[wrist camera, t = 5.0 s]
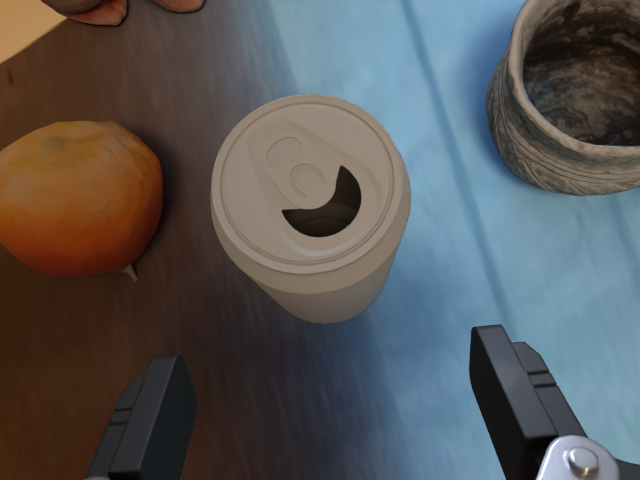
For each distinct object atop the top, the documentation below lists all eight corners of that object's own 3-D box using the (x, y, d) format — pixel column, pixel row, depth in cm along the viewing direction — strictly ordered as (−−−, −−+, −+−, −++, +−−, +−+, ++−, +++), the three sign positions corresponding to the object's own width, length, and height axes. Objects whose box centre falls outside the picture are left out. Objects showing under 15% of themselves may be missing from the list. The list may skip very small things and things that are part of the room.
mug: (535, 26, 29) (630, -149, 19) (738, 149, 26) (966, 19, 16) (435, 146, 27) (482, 22, 18) (639, 289, 25) (827, 237, 15)
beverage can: (315, 351, 25) (285, 335, 13) (241, 254, 26) (156, 164, 15) (412, 273, 26) (464, 193, 14) (335, 183, 27) (323, 43, 15)
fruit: (4, 320, 25) (-94, 195, 19) (71, 215, 30) (10, 95, 25) (162, 326, 24) (108, 199, 19) (200, 218, 30) (168, 96, 24)
